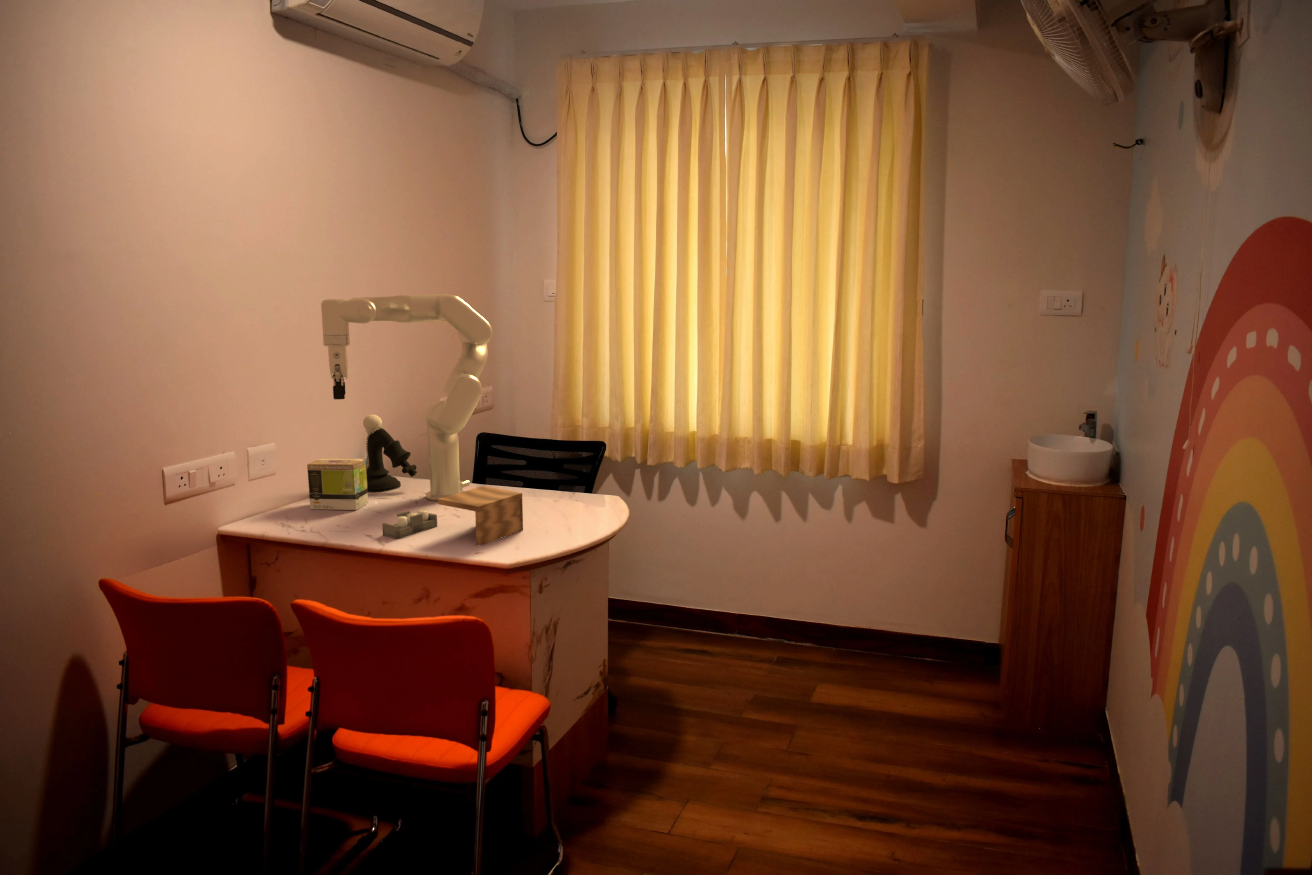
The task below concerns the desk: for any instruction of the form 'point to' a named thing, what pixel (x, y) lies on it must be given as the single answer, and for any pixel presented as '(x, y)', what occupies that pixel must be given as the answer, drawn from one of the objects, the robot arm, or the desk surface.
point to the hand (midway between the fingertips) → (339, 397)
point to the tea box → (337, 483)
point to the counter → (490, 511)
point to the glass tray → (410, 524)
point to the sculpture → (392, 449)
